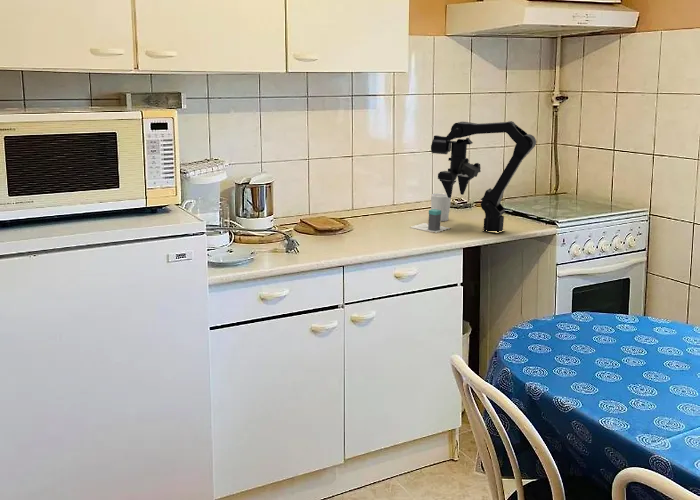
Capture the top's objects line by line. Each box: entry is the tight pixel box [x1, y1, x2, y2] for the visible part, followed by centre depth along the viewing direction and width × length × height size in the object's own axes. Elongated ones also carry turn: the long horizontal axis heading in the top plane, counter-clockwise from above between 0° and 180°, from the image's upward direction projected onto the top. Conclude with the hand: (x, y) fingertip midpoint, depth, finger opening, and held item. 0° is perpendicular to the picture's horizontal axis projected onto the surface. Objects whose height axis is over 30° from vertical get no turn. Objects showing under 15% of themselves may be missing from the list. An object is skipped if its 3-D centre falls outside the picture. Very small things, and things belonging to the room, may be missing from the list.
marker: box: [427, 209, 441, 231], centre depth 288 cm, size 3×3×7 cm
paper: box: [409, 222, 451, 234], centre depth 293 cm, size 12×10×1 cm
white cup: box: [430, 192, 452, 222], centre depth 307 cm, size 8×8×10 cm
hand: (455, 196), depth 294 cm, fingers open, 9 cm apart
